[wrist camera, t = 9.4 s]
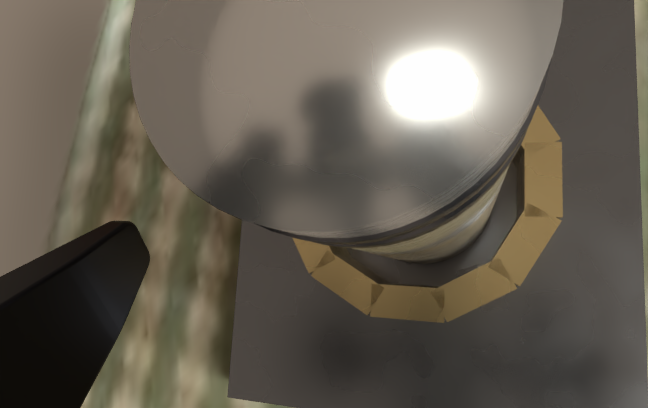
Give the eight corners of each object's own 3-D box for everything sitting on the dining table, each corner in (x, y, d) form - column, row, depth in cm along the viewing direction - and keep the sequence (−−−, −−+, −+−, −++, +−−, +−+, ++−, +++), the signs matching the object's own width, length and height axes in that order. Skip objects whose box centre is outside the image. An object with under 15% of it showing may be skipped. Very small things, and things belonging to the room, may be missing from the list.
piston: (522, 225, 16) (685, 79, 4) (387, 288, 17) (206, 316, 5) (452, 101, 17) (421, -279, 5) (330, 166, 18) (80, -37, 6)
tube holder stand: (633, 443, 15) (687, 497, 12) (244, 388, 20) (191, 415, 16) (619, -11, 18) (660, -89, 14) (272, 26, 22) (231, -27, 18)
